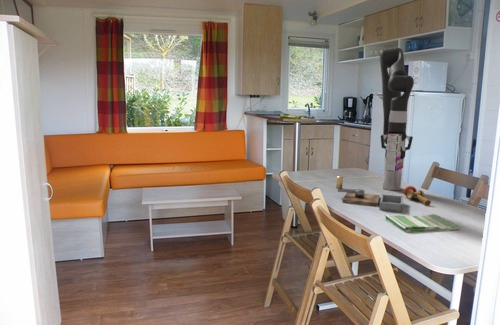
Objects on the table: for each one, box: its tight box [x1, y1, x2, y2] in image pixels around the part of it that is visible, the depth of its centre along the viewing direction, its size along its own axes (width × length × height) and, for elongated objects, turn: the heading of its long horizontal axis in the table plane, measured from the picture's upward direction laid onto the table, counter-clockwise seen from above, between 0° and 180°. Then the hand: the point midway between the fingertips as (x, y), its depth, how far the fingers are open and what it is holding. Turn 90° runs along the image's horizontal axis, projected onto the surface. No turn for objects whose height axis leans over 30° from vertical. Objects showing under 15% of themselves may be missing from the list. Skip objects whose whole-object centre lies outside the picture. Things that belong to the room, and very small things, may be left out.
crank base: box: [342, 192, 381, 207], centre depth 197 cm, size 16×16×2 cm
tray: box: [379, 193, 404, 213], centre depth 187 cm, size 10×16×4 cm, turn 159°
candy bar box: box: [385, 134, 406, 171], centre depth 182 cm, size 11×5×16 cm, turn 143°
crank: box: [335, 175, 365, 198], centre depth 198 cm, size 14×4×9 cm, turn 69°
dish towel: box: [384, 214, 461, 233], centre depth 162 cm, size 18×23×3 cm
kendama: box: [403, 185, 432, 207], centre depth 198 cm, size 8×6×18 cm
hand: (394, 158), depth 183 cm, fingers closed on candy bar box, 5 cm apart
